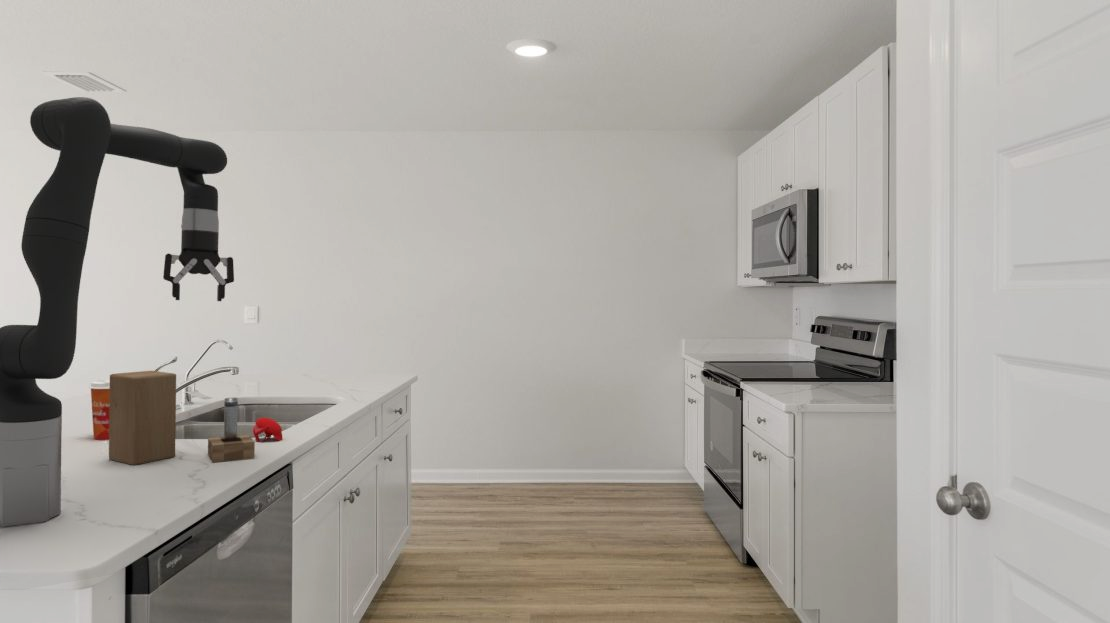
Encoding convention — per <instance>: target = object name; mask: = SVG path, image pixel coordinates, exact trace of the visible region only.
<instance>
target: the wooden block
mask: <svg viewBox="0 0 1110 623" xmlns="http://www.w3.org/2000/svg"><path fill="white" fill-rule="evenodd" d="M109 380H110V398H109V440H108V458H109V460H111V461H115V462H120V463H122V464H123V463H124V464H128V465H131V466H137V465H140V464H145V463H151V462H155V461H156V462H157V461H160V460H165V459H166V460H167V459H170V458H174V457H175V456H176V422H177V421H176V419H177V418H176V412H177V407H176V406H177V374H176V373H173V372H165V371H159V370H158V371H156V370H144V371H143V370H141V371H135V372H134V371H132V372H129V371H128V372H120V373H111V374H110V375H109Z"/></svg>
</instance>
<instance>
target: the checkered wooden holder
mask: <svg viewBox="0 0 1110 623" xmlns="http://www.w3.org/2000/svg"><path fill="white" fill-rule="evenodd" d="M255 441H256V440H254V439H253V438H252V436H250V434H243V435H242V434H240V435H238V434H237V441H232V442H224V436H218V437H217V436H215V437H208V438H207V455H208V457H209V459H210V462H211V463H221V462H231V461H241V460H250V459H251V458H252V459H255V446H256V445H255ZM252 459H251V460H252Z"/></svg>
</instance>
